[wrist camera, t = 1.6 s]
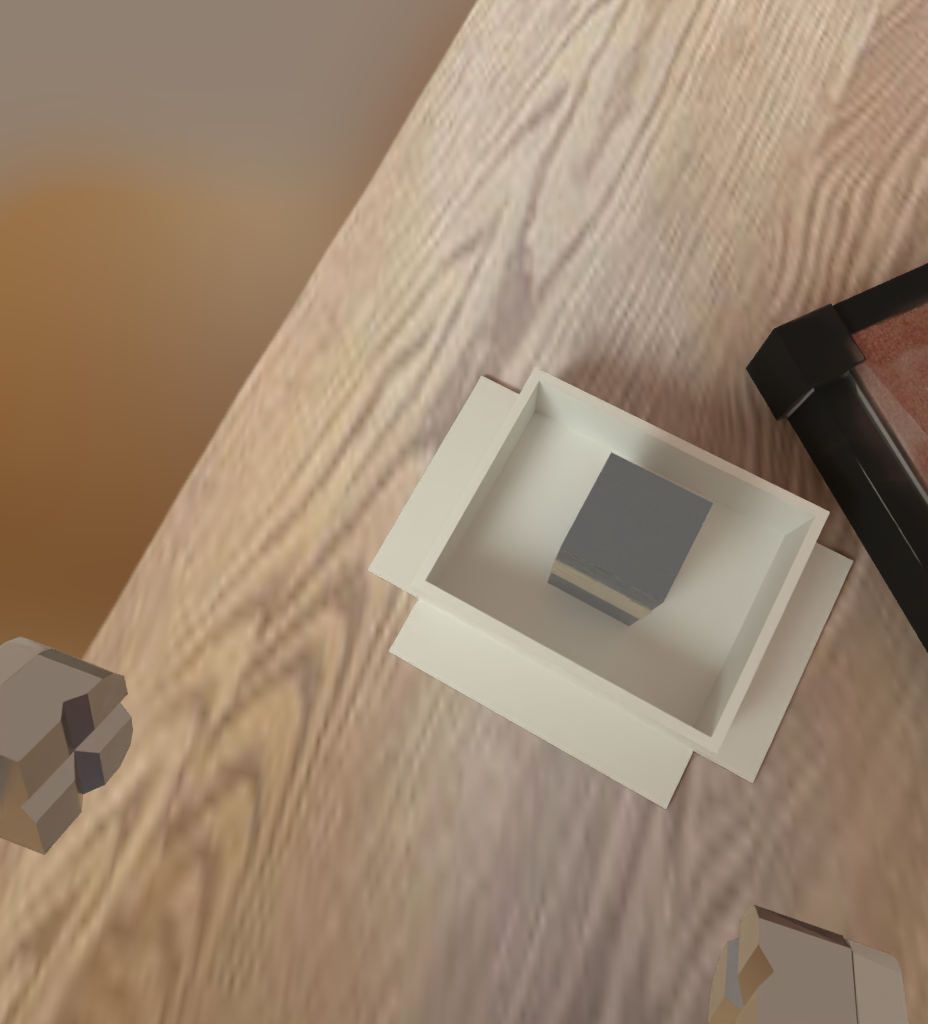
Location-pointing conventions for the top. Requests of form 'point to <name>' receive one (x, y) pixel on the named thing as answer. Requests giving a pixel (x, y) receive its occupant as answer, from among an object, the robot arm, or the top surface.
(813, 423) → the book
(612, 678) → the box
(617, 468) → the tea tin
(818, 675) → the top surface
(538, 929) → the top surface
